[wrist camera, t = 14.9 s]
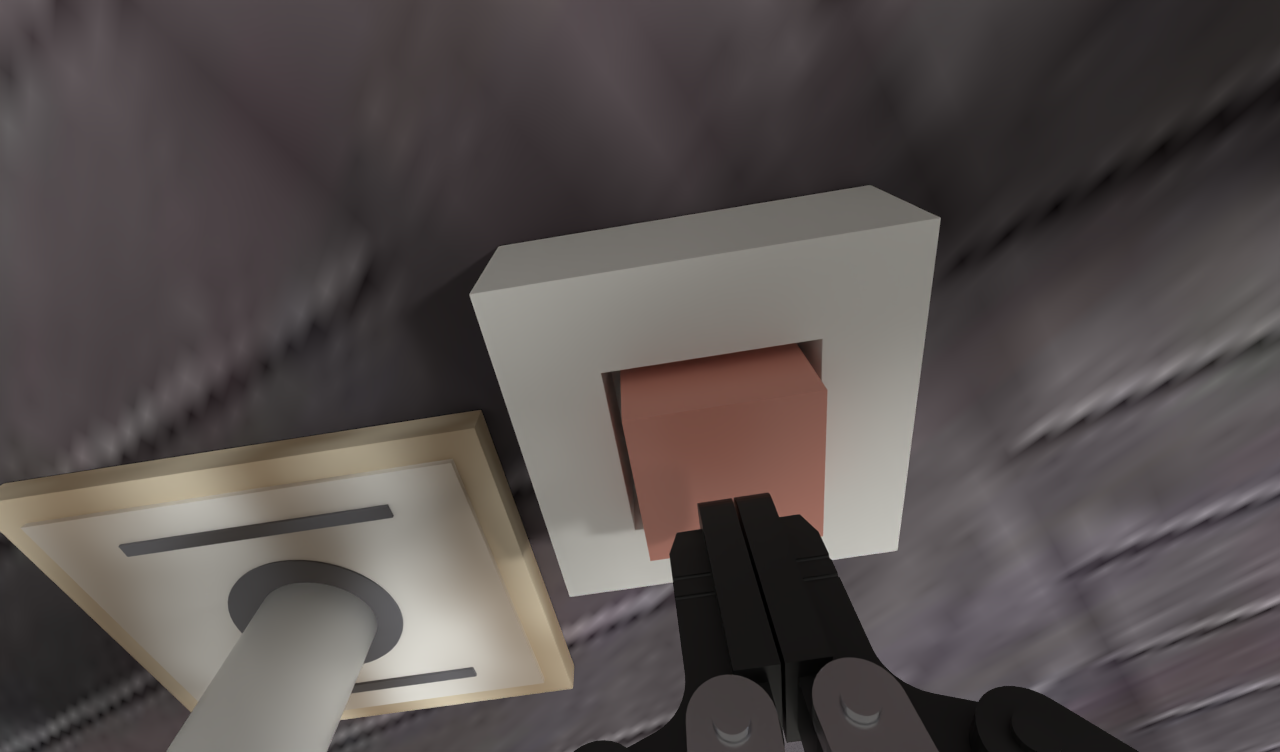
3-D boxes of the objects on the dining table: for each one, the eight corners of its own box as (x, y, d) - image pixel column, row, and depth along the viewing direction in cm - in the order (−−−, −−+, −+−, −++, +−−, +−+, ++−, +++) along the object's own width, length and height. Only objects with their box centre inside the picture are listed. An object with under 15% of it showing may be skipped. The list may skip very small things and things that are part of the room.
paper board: (481, 409, 17) (472, 433, 16) (574, 666, 24) (572, 695, 23) (3, 483, 18) (-38, 511, 17) (230, 713, 25) (212, 743, 24)
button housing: (870, 184, 14) (940, 218, 11) (852, 473, 19) (897, 550, 16) (498, 246, 15) (468, 294, 12) (576, 514, 20) (569, 596, 17)
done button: (789, 332, 14) (827, 389, 11) (790, 464, 16) (823, 536, 14) (619, 358, 14) (621, 420, 12) (644, 486, 16) (650, 561, 14)
